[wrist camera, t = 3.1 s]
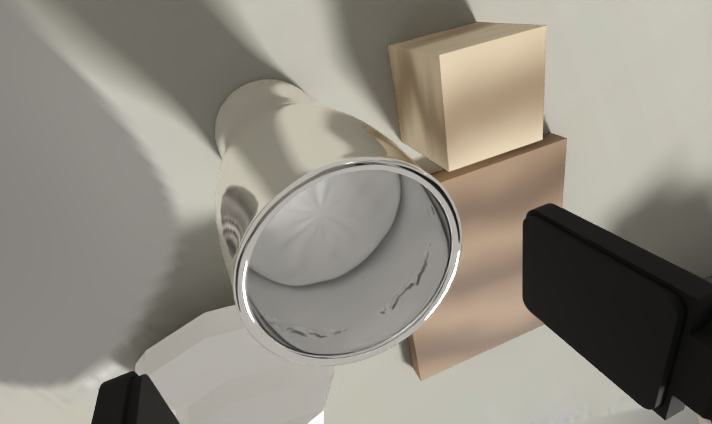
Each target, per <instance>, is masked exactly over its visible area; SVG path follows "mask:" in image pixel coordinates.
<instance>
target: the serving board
mask: <svg viewBox="0 0 712 424" xmlns="http://www.w3.org/2000/svg"><path fill="white" fill-rule="evenodd" d="M566 144H567V138H564V137H561V136H558V135H555V134H553V133H550V134H548V135H545V136H543V140H540V141H537V142H534V143H531V144H528V145H525V146H522V147H520V148H517V149H514V150H511V151H508V152H505V153H502V154H499V155H496V156H494V157H491V158H488V159H485V160H482V161H479V162H476V163H473V164H470V165H467V166H465V167H462V168H459V169H456V170H453V171H450V172H449V171H447V170H443V171H440V172H437V173H434V174H431V176H433V177H434V178H435V179H436V180H437V181H438V182H439V183H440V184H441V185H442V186H443V187H444V188H445V189H446V191H447V192H448V193H449V195H450V197H451V198H452V200H453V202H454V204H455V206H456V209H457V211H458V214H459V218H460V222H461V228H462V252H461V258H460V263H459V266H458V270H457V273H456V276H455V278H454V281H453V283H452V285H451V287H450V289H449V291H448V293H447V294H446V296H445V298H444V299H443V301H442V302H441V304H440V305H439V306H438V308H437V309H436V310H435V312H434V313H433V314H432V315H431V316H430V317H429V318H428V320H427V321H426V322H425V323H424V324H423V325H422V326H421V327H419V328H418V329H417V330H416V331H415V332H414V333H412V334H411V335H410V336H409V337H408V343H409V349H410V354H411V360H412V365H413V369H414V370H415V372H416V374H417V375H418V377H419V379H420V380H421V381H422V380H424V379H426V378H428V377H430V376H433V375H435V374H437V373H439V372H441V371H443V370H446V369H448V368H450V367H452V366H454V365H457V364H459V363H461V362H463V361H465V360H467V359H470V358H472V357H474V356H476V355H478V354H481V353H483V352H485V351H487V350H489V349H491V348H494V347H496V346H498V345H500V344H502V343H505V342H507V341H509V340H511V339H513V338H516V337H518V336H520V335H522V334H524V333H526V332H529V331H531V330H533V329H535V328H537V327H540V326H542V325H544V323H543V322H542V321H540V320H539V319H538V318H537V317H536V316H535V315H533V314H532V313H531V312H530V311H529V310H528V309H527V308H526V306H525V304H524V302H523V298H522V249H523V221H524V219H526V215H527V213H528V212H529V211H530V210H532V209H535V208H537V207H540V206H542V205H545V204H547V203H552V204H555V205H557V206H559V207H561V208H562V203H563V188H564V173H565V159H566Z"/></svg>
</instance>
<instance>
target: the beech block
mask: <svg viewBox="0 0 712 424" xmlns="http://www.w3.org/2000/svg"><path fill="white" fill-rule="evenodd" d="M546 33H547V25H530V24H508V23H487V22H475V23H471V24H467V25H464V26H460V27H456V28H452V29H448V30H445V31H441V32H437V33H433V34H430V35H426V36H422V37H418V38H414V39H411V40H407V41H403V42H399V43H395V44H392V45H388V50H389V57H390V64H391V71H392V78H393V85H394V92H395V99H396V106H397V113H398V120H399V127H400V134H401V141H402V142H403V143H404V144H406V145H408V146H409V147H411V148H412V149H414V150H415V151H417V152H419V153H420V154H422V155H423V156H425V157H427V158H428V159H430V160H431V161H433V162H434V163H436V164H438V165H439V166H441V167H442V168H444V169H445V170H447V171H449V172H450V171H453V170H456V169H459V168H462V167H465V166H467V165H470V164H473V163H476V162H479V161H482V160H485V159H488V158H491V157H494V156H496V155H499V154H502V153H505V152H508V151H511V150H514V149H517V148H520V147H522V146H525V145H528V144H531V143H534V142H537V141H540V140H543V114H544V87H545V60H546Z"/></svg>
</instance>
